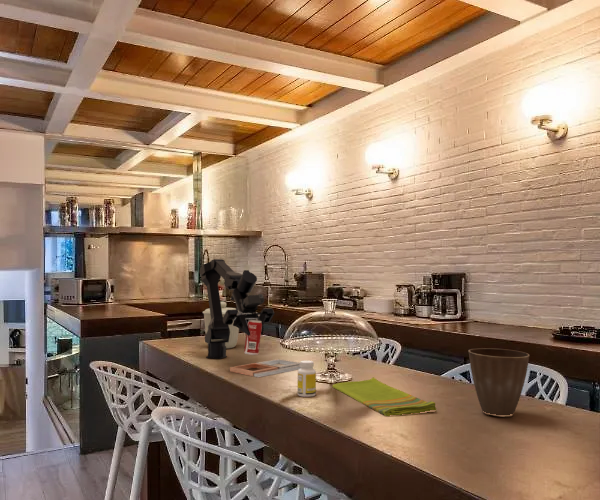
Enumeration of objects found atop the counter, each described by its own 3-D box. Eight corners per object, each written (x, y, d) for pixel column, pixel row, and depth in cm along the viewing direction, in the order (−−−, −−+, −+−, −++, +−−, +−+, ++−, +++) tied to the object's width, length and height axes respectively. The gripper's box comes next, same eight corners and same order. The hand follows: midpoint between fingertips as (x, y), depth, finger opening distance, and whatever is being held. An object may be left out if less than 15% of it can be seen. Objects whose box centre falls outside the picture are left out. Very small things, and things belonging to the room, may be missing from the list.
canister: (239, 350, 244) (239, 303, 245) (198, 350, 245) (199, 302, 245) (243, 345, 263) (244, 300, 263) (205, 344, 263) (206, 300, 263)
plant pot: (501, 405, 153) (502, 347, 154) (542, 419, 139) (542, 355, 140) (456, 409, 148) (456, 349, 148) (494, 424, 134) (494, 358, 134)
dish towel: (385, 419, 139) (385, 406, 139) (331, 389, 173) (331, 378, 173) (438, 414, 144) (438, 402, 144) (375, 386, 178) (375, 376, 178)
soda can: (247, 352, 200) (251, 319, 201) (260, 354, 198) (264, 321, 199) (241, 353, 195) (245, 319, 196) (255, 355, 193) (259, 321, 195)
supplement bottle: (318, 393, 164) (318, 360, 164) (312, 398, 159) (312, 363, 159) (300, 392, 165) (301, 359, 166) (294, 396, 160) (295, 362, 161)
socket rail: (258, 377, 187) (258, 372, 187) (229, 371, 197) (229, 367, 197) (306, 367, 205) (306, 363, 206) (278, 362, 215) (278, 359, 215)
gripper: (226, 287, 196) (239, 321, 187) (272, 286, 206) (287, 319, 197) (217, 307, 203) (229, 341, 193) (262, 306, 213) (275, 338, 203)
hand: (256, 334), depth 196 cm, fingers closed on soda can, 5 cm apart
